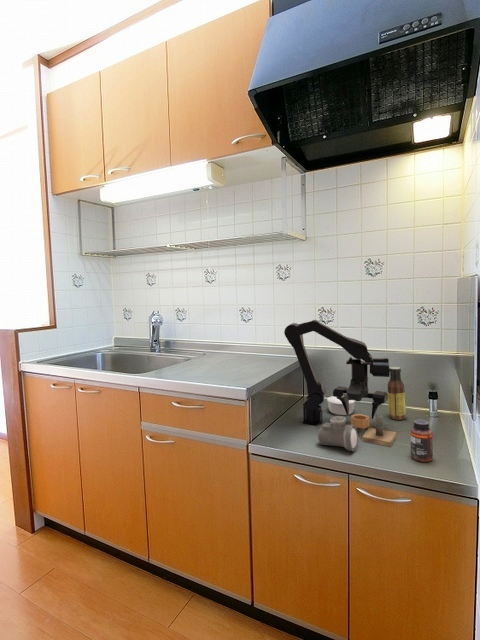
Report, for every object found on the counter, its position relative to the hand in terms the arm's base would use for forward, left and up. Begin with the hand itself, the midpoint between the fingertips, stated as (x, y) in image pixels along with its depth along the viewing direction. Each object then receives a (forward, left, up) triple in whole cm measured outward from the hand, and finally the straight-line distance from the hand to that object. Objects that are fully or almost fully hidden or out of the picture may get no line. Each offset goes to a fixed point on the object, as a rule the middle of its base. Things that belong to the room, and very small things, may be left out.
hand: (359, 416), depth 135 cm
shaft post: (+9, -9, -3) cm, 13 cm away
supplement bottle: (+23, -17, -3) cm, 29 cm away
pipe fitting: (-1, -21, -4) cm, 22 cm away
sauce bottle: (+10, +14, -3) cm, 18 cm away
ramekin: (-11, +11, -4) cm, 16 cm away
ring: (0, 0, -3) cm, 3 cm away
